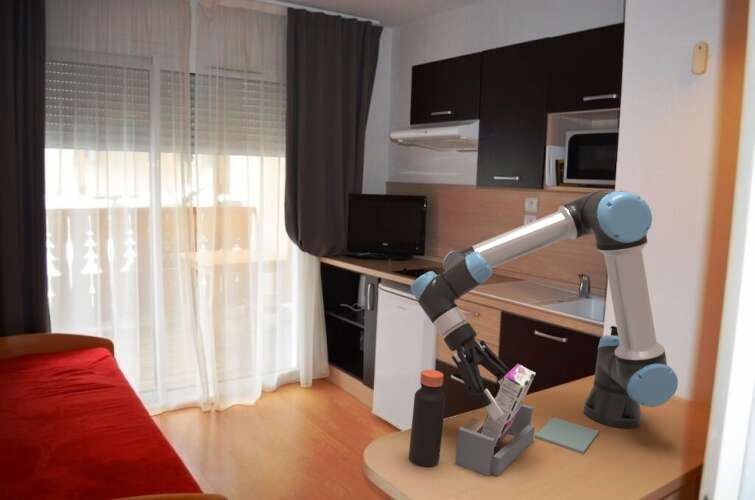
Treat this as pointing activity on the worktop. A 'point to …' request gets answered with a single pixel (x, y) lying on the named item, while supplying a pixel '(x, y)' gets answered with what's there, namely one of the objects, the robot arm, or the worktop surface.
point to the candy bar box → (508, 402)
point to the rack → (480, 448)
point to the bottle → (427, 420)
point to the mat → (567, 435)
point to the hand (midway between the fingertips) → (509, 409)
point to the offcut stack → (474, 425)
